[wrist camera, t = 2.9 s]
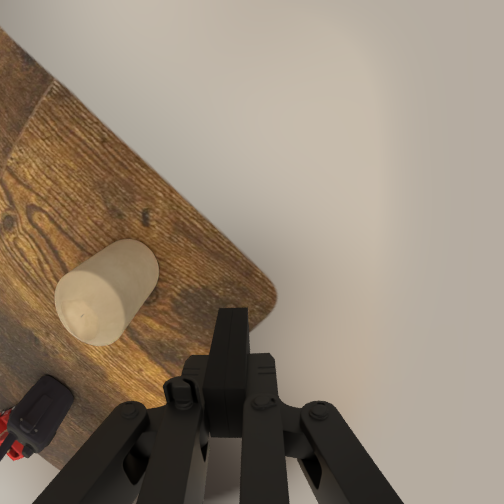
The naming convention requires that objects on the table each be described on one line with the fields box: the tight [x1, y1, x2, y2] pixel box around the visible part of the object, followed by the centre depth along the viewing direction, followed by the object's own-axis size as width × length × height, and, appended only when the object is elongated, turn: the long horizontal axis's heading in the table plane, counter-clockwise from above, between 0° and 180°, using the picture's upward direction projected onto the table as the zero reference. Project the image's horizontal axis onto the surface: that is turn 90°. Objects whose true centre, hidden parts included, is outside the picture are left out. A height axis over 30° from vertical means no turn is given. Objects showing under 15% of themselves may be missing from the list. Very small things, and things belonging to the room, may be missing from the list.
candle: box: [55, 239, 159, 346], centre depth 22 cm, size 6×6×10 cm
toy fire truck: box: [0, 406, 24, 461], centre depth 29 cm, size 3×14×10 cm, turn 120°
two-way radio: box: [0, 376, 74, 461], centre depth 24 cm, size 6×4×15 cm
